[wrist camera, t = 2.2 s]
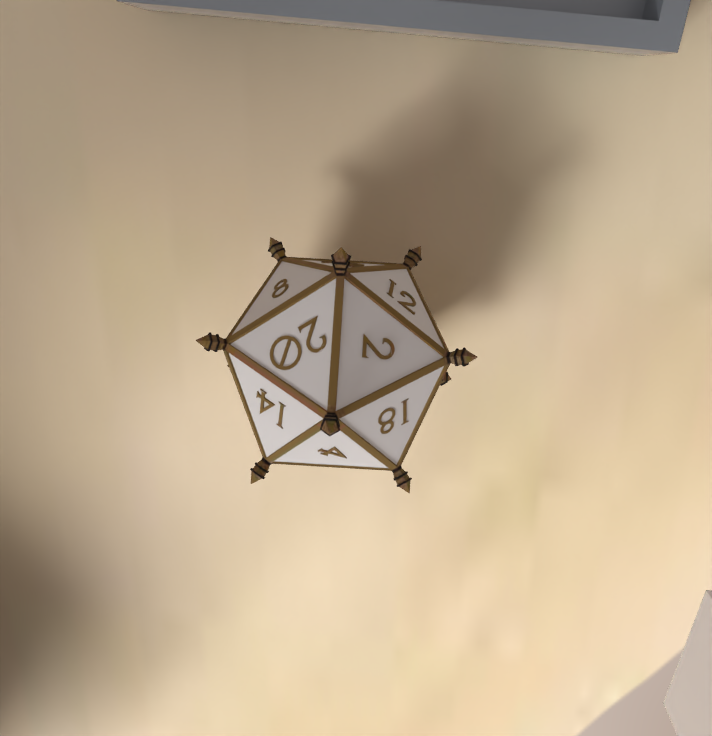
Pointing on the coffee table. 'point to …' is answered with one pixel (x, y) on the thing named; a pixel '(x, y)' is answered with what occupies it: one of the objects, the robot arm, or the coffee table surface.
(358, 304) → the game die
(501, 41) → the square tray
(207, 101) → the coffee table surface
